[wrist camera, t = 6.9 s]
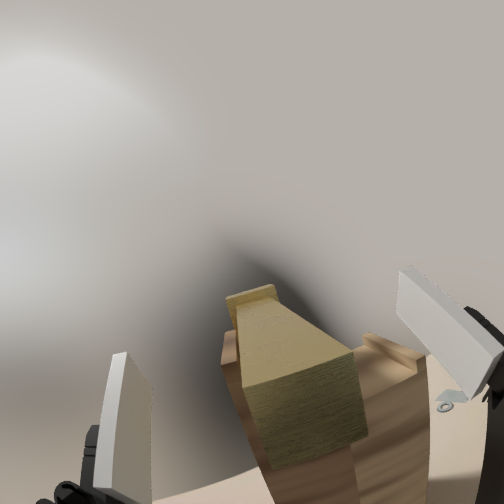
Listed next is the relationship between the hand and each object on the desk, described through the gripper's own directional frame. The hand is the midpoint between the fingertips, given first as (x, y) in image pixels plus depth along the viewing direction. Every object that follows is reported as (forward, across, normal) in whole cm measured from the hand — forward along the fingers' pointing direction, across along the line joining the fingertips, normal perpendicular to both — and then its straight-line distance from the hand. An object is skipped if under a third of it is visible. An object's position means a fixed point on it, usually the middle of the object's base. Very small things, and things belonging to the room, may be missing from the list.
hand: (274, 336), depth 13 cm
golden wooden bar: (+3, 0, -5) cm, 6 cm away
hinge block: (-7, +3, -27) cm, 28 cm away
